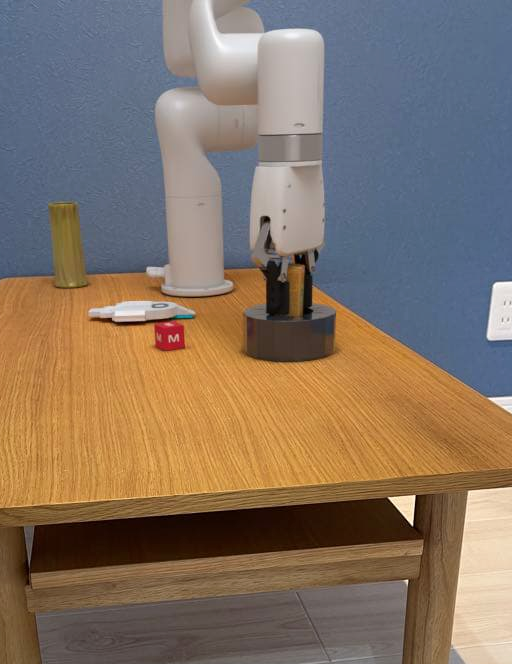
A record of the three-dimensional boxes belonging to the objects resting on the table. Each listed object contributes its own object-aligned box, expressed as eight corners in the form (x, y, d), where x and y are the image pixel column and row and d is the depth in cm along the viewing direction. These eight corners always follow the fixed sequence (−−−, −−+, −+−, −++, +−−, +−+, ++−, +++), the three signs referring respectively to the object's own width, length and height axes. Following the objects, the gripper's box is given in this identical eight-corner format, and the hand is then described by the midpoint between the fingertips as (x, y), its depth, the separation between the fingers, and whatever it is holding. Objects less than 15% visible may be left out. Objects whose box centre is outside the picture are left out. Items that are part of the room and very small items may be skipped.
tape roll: (236, 360, 106) (235, 320, 104) (253, 338, 117) (252, 301, 114) (329, 363, 104) (330, 321, 102) (338, 340, 114) (339, 302, 112)
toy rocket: (84, 326, 126) (83, 310, 125) (96, 313, 135) (94, 298, 134) (192, 324, 125) (192, 308, 124) (197, 311, 134) (196, 296, 133)
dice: (185, 348, 113) (183, 325, 112) (164, 351, 112) (162, 328, 110) (176, 343, 115) (174, 321, 114) (155, 346, 114) (154, 323, 113)
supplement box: (301, 348, 108) (301, 267, 104) (274, 348, 109) (273, 267, 105) (304, 342, 111) (305, 262, 107) (278, 341, 112) (277, 262, 107)
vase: (95, 283, 159) (87, 201, 152) (72, 289, 154) (63, 205, 148) (70, 281, 162) (61, 201, 155) (47, 286, 157) (38, 204, 151)
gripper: (304, 148, 108) (302, 296, 116) (220, 155, 96) (224, 318, 105) (355, 148, 104) (349, 301, 112) (273, 155, 92) (274, 326, 100)
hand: (289, 308), depth 108 cm, fingers closed on supplement box, 4 cm apart
